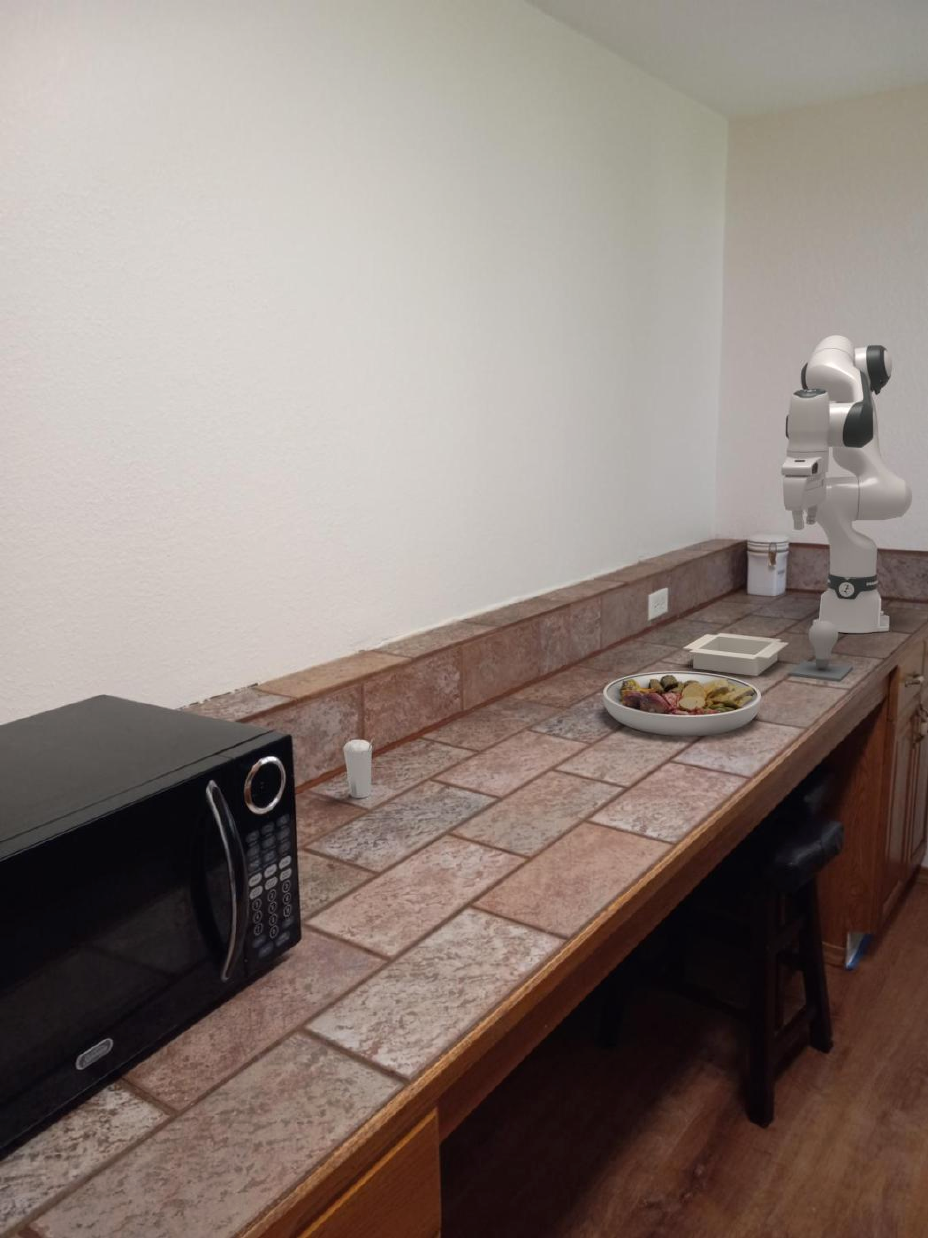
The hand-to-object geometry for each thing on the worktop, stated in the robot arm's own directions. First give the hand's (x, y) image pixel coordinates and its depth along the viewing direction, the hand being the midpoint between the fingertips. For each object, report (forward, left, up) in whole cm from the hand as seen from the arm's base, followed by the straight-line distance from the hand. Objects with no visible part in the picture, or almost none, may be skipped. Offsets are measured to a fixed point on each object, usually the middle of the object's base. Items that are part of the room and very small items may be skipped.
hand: (804, 526), depth 221 cm
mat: (+7, +6, -31) cm, 32 cm away
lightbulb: (+7, +7, -31) cm, 32 cm away
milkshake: (+111, -38, -31) cm, 121 cm away
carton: (+9, -12, -31) cm, 35 cm away
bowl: (+49, -9, -32) cm, 59 cm away
